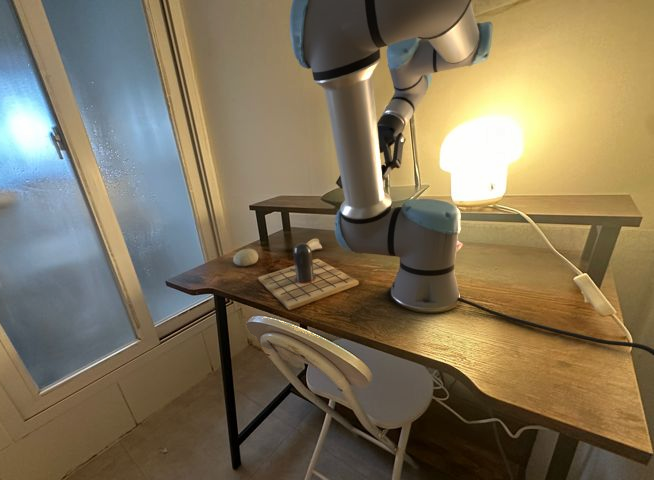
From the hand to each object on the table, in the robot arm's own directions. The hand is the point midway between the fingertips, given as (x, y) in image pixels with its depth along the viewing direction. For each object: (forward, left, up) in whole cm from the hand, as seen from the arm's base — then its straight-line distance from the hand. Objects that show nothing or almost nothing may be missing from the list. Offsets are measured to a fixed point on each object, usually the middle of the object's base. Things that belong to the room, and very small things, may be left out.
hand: (354, 187), depth 86 cm
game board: (0, +19, -24) cm, 31 cm away
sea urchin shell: (+28, +28, -25) cm, 47 cm away
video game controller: (-14, -22, -25) cm, 36 cm away
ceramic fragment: (+22, +4, -25) cm, 33 cm away
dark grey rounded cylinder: (0, +19, -23) cm, 30 cm away
